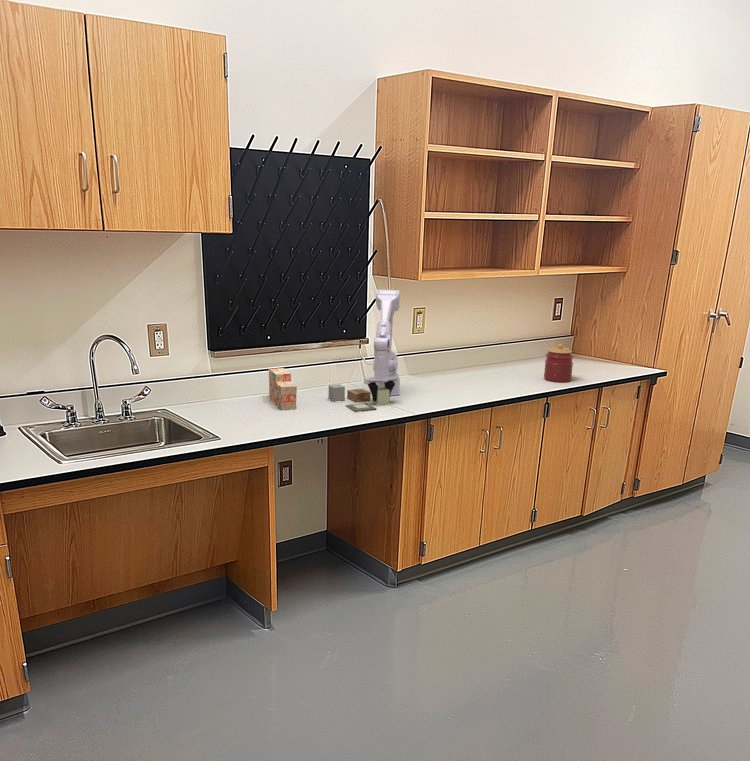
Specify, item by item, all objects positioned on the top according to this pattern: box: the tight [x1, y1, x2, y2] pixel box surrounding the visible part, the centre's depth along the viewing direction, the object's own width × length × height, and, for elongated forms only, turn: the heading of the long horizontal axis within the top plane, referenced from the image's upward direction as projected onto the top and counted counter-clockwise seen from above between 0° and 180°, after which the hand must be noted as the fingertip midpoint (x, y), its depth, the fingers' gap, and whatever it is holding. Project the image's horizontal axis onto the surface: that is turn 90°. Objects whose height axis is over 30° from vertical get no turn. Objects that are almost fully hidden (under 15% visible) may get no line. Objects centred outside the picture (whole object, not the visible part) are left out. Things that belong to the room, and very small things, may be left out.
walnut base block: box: [346, 388, 371, 404], centre depth 277 cm, size 7×7×4 cm
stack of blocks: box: [268, 367, 298, 411], centre depth 269 cm, size 21×6×12 cm, turn 21°
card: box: [345, 402, 377, 413], centre depth 265 cm, size 9×9×1 cm
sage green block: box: [371, 387, 390, 406], centre depth 272 cm, size 5×5×6 cm
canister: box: [543, 343, 574, 383], centre depth 323 cm, size 13×13×18 cm
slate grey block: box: [328, 383, 346, 403], centre depth 276 cm, size 5×5×6 cm
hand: (380, 400), depth 272 cm, fingers closed on sage green block, 5 cm apart
